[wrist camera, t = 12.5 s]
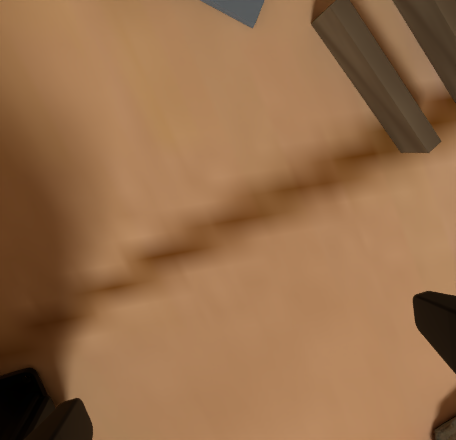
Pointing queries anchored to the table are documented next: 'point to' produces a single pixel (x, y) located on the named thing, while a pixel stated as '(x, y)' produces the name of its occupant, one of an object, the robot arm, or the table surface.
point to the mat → (239, 9)
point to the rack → (383, 70)
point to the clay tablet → (446, 431)
